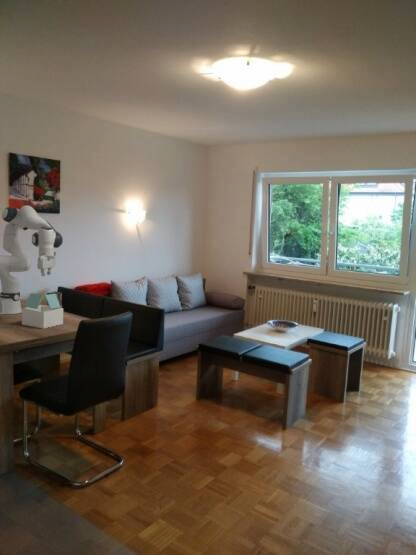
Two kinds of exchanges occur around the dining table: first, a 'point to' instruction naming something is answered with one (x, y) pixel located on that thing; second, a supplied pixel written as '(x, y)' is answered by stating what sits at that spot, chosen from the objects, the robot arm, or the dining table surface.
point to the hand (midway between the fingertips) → (46, 275)
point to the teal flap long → (34, 301)
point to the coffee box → (59, 297)
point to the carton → (42, 316)
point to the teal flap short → (52, 301)
